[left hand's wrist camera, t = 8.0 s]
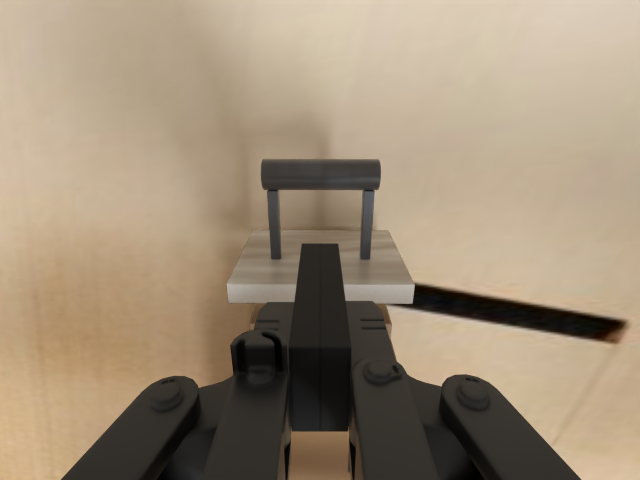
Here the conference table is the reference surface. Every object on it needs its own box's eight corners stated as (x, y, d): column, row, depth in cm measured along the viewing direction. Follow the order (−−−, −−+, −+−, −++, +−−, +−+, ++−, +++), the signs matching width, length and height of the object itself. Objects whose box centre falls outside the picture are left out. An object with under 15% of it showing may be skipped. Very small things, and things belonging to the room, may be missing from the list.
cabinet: (254, 320, 30) (226, 420, 21) (385, 321, 30) (414, 420, 21) (268, 480, 38) (251, 603, 29) (371, 480, 38) (388, 603, 29)
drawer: (246, 146, 24) (213, 171, 17) (395, 147, 24) (428, 172, 17) (267, 420, 34) (252, 512, 26) (373, 421, 34) (387, 513, 26)
